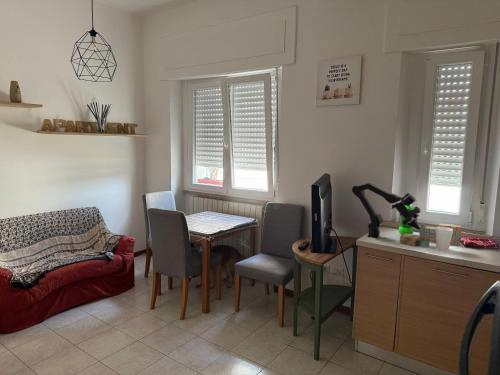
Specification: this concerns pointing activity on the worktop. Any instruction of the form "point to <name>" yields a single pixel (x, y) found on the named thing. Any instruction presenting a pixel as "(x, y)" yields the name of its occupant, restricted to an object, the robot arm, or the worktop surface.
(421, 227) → the pusher
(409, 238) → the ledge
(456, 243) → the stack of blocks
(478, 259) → the worktop surface
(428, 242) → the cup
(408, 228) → the plastic bottle
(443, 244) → the foam cup
